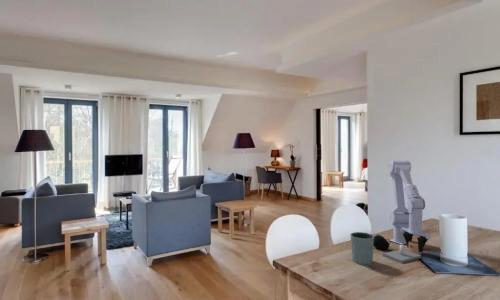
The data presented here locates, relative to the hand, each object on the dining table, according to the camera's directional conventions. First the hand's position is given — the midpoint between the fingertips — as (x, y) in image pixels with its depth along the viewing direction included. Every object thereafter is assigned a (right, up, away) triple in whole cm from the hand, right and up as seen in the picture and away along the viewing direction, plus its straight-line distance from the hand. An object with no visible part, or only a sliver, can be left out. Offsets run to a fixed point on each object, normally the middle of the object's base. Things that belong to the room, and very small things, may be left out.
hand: (414, 249), depth 156 cm
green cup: (-30, -2, -11) cm, 32 cm away
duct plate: (-9, -2, -6) cm, 11 cm away
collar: (0, -1, 0) cm, 1 cm away
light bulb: (-14, -2, +4) cm, 14 cm away
